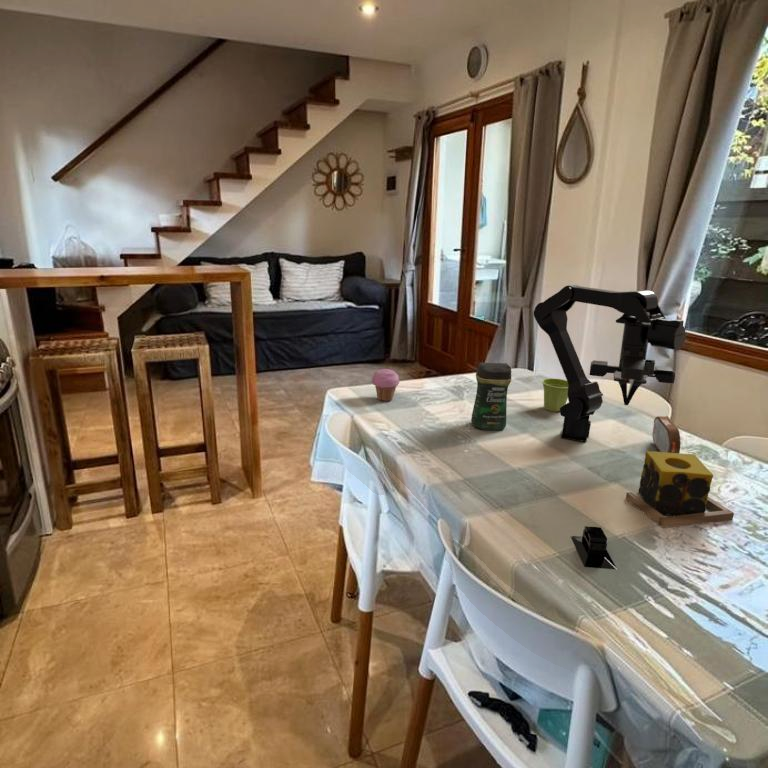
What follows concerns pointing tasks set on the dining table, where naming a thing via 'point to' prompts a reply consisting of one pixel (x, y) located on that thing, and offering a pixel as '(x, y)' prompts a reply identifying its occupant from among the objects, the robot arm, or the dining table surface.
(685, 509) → the yellow holed cube
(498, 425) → the coffee jar
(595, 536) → the black block on plate
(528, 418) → the dining table surface
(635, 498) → the brown flat tray
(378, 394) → the cupcake
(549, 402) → the plant pot
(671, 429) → the tin
